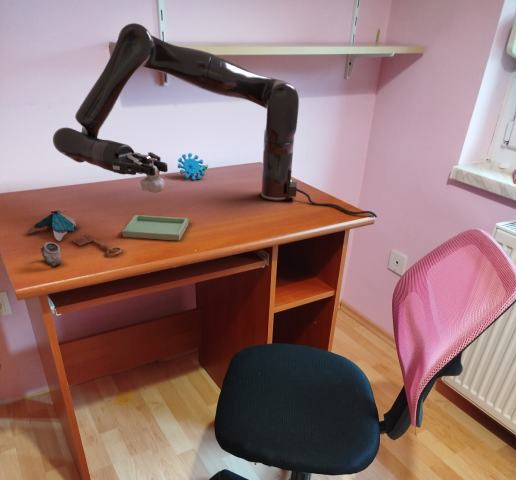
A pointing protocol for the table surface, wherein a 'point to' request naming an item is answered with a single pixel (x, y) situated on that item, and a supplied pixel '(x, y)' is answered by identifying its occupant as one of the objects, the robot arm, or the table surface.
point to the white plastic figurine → (153, 182)
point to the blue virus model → (192, 166)
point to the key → (83, 239)
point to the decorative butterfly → (56, 224)
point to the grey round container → (51, 253)
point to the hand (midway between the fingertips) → (160, 169)
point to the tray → (156, 227)
